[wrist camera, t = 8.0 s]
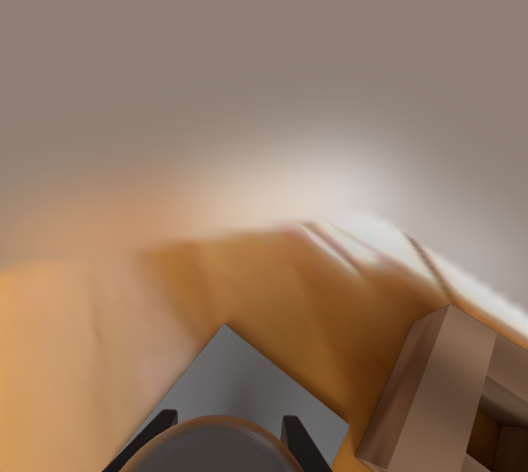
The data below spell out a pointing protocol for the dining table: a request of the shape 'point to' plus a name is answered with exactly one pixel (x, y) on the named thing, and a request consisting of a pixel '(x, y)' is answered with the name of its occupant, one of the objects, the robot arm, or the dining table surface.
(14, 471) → the dining table surface
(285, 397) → the slate pad
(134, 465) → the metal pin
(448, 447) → the block
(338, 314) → the dining table surface
